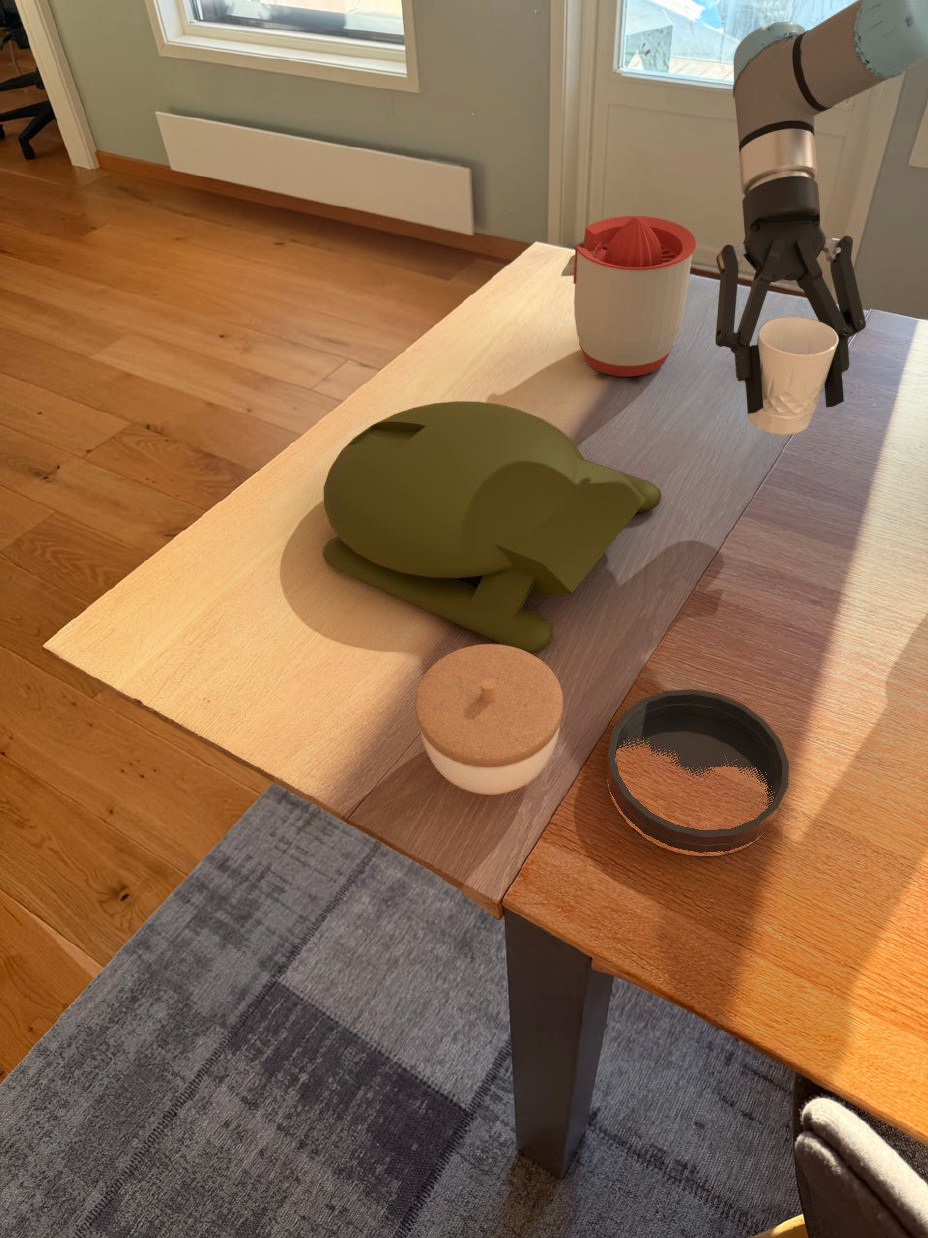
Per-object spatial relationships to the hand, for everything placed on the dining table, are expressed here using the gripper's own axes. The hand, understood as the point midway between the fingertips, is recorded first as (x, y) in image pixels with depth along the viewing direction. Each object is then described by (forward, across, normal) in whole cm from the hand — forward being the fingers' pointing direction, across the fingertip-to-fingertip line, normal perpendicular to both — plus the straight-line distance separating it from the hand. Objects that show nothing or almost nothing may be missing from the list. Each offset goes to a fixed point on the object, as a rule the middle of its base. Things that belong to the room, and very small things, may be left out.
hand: (795, 407), depth 95 cm
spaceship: (+9, +34, -12) cm, 37 cm away
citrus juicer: (-16, +11, -36) cm, 41 cm away
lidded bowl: (+32, +35, +12) cm, 49 cm away
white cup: (0, 0, -5) cm, 5 cm away
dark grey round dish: (+35, +17, +15) cm, 42 cm away
